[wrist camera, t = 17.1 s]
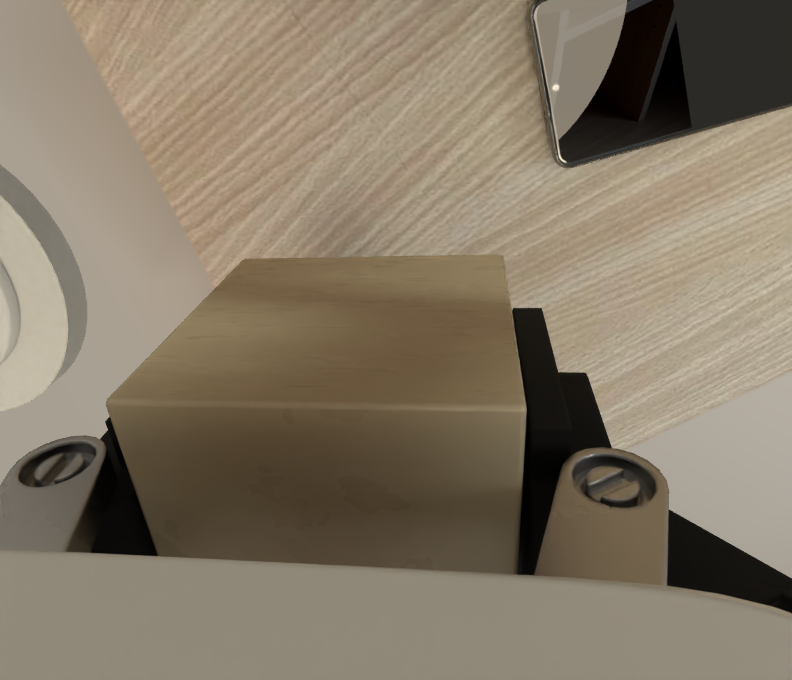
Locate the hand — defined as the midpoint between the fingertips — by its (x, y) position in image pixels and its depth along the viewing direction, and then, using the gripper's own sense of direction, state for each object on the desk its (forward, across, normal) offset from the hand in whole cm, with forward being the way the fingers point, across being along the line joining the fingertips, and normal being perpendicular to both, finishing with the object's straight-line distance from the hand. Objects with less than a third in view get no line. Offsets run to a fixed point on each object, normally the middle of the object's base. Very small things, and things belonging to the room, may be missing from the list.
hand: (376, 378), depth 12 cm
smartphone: (+20, -13, -5) cm, 24 cm away
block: (0, 0, 0) cm, 0 cm away
